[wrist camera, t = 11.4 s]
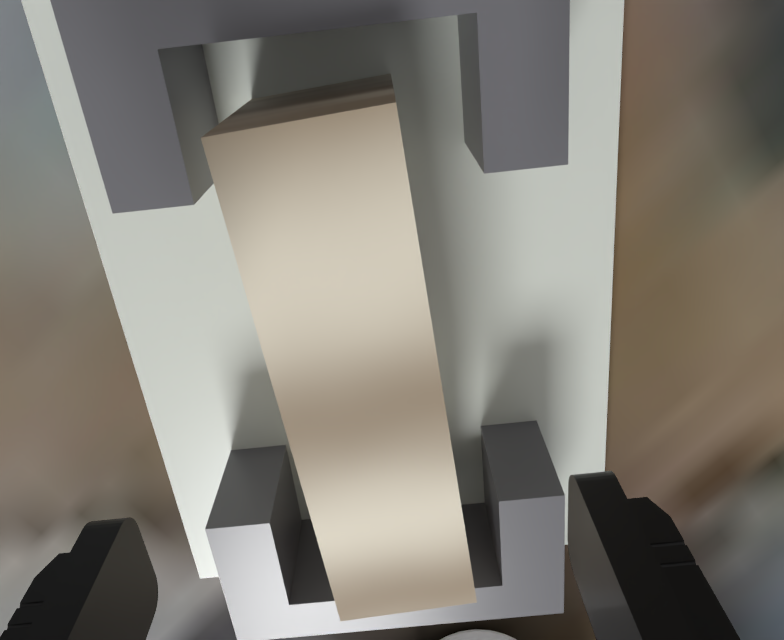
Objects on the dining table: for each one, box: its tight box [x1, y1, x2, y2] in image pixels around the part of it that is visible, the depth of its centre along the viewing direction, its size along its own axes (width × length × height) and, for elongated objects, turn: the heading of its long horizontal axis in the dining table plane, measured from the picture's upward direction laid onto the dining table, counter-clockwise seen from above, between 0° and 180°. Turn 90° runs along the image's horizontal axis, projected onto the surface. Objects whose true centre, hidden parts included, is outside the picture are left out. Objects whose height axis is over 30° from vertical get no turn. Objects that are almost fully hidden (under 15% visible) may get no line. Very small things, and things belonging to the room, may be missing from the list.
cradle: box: [21, 0, 624, 640], centre depth 20 cm, size 22×16×5 cm
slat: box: [201, 74, 477, 621], centre depth 19 cm, size 14×4×6 cm, turn 10°
